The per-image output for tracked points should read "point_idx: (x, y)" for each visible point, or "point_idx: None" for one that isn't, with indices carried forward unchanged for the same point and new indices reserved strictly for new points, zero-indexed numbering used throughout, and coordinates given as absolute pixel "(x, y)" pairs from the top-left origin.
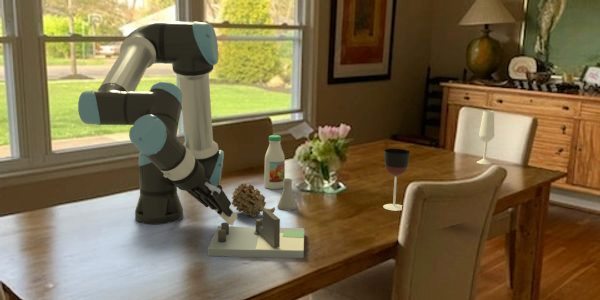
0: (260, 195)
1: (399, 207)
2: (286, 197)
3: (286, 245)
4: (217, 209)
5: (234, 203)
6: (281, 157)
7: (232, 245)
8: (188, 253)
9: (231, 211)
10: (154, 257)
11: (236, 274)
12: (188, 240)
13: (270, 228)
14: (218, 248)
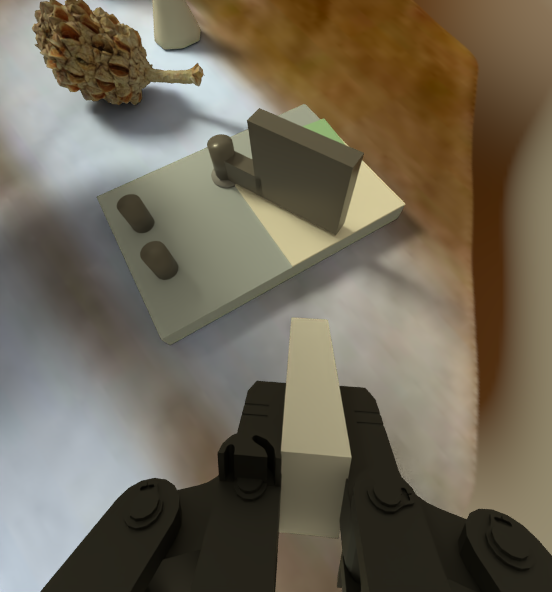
0: (124, 30)
1: None
2: (172, 9)
3: None
4: (295, 519)
5: (69, 84)
6: None
7: (213, 277)
8: (105, 365)
9: (377, 412)
10: (16, 457)
11: None
12: (56, 291)
13: (314, 187)
14: (189, 318)
